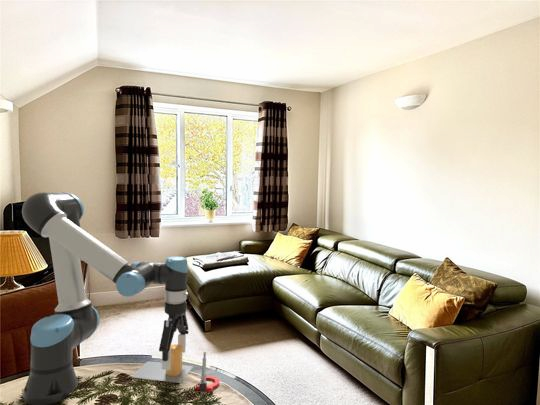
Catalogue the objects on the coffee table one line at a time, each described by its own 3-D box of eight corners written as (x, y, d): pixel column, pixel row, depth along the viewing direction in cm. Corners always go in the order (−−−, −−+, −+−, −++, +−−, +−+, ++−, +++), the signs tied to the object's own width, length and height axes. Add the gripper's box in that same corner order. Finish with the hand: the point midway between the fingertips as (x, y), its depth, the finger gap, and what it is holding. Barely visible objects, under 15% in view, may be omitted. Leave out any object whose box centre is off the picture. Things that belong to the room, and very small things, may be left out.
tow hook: (199, 377, 132) (189, 390, 123) (201, 341, 132) (191, 351, 123) (222, 380, 130) (214, 393, 121) (223, 344, 131) (216, 354, 121)
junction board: (130, 381, 127) (131, 362, 127) (147, 365, 139) (147, 348, 138) (180, 387, 124) (181, 368, 124) (193, 370, 136) (193, 353, 136)
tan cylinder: (163, 375, 129) (164, 349, 128) (169, 368, 134) (170, 343, 133) (177, 376, 128) (178, 351, 128) (183, 369, 133) (184, 345, 133)
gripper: (171, 313, 117) (169, 378, 118) (197, 292, 142) (196, 346, 142) (149, 311, 118) (147, 376, 119) (179, 290, 143) (177, 344, 143)
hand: (174, 360), depth 131 cm, fingers open, 13 cm apart
